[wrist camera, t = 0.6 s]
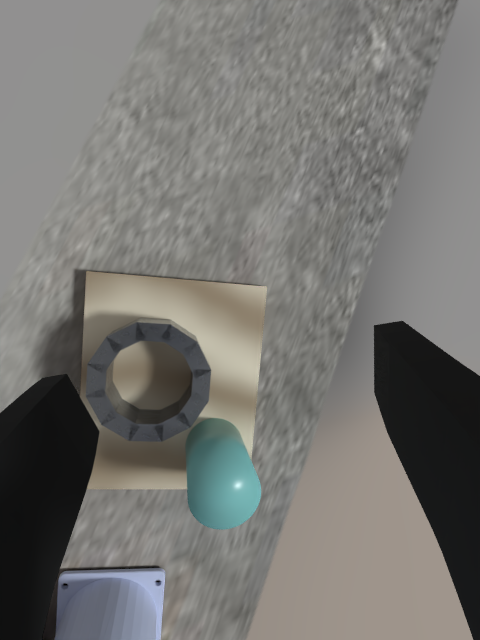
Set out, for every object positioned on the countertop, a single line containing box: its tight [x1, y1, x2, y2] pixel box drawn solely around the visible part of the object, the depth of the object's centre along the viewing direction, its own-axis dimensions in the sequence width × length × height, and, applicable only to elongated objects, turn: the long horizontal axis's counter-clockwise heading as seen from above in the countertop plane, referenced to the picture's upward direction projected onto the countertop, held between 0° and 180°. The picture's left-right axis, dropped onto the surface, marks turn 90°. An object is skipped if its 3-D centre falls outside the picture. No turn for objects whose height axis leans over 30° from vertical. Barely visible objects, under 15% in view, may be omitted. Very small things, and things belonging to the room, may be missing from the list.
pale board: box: [80, 271, 267, 489], centre depth 30 cm, size 16×13×1 cm
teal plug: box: [185, 418, 261, 529], centre depth 27 cm, size 4×4×7 cm
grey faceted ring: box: [86, 318, 211, 442], centre depth 28 cm, size 8×8×3 cm
